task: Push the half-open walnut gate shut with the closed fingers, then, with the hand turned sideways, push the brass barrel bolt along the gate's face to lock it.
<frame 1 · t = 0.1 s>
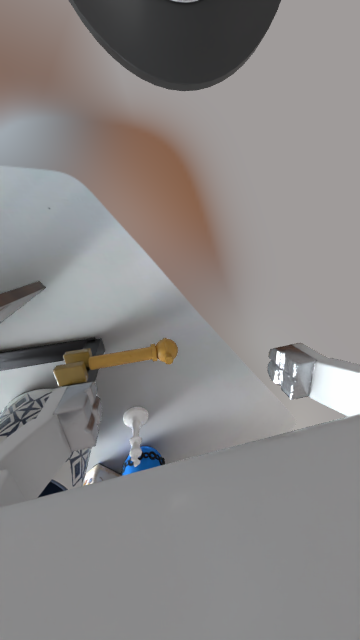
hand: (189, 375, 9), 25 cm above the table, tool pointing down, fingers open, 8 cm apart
ornament: (143, 449, 44), on the table
bolt: (135, 357, 24), point 10 cm above the table, slide at 0.0 cm
planter: (52, 421, 37), on the table
decorative jar: (100, 486, 45), on the table
chess piece: (136, 415, 41), on the table
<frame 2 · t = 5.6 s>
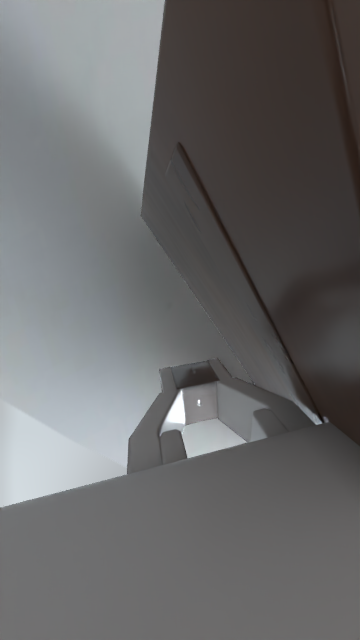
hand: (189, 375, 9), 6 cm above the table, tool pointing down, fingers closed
gate: (307, 417, 10), point 7 cm above the table, hinge at 29.8°, touching gripper
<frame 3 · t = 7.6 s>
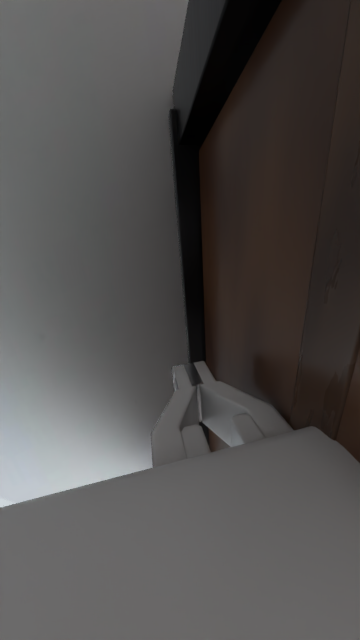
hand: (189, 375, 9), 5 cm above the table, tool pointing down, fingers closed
gate frame: (212, 455, 18), on the table
gate: (264, 433, 8), point 7 cm above the table, hinge at -0.7°, touching gripper
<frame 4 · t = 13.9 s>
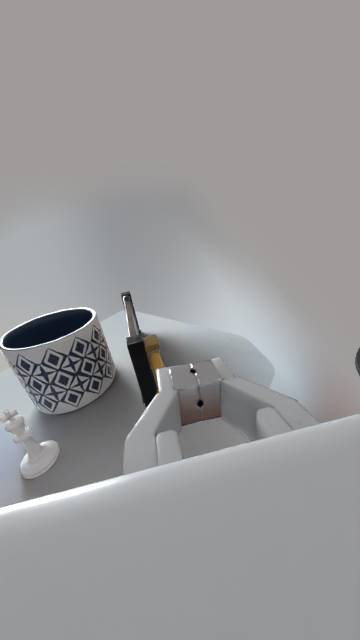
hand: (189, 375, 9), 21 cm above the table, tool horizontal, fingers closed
gate frame: (137, 338, 57), on the table
bolt: (161, 376, 26), point 11 cm above the table, slide at 0.0 cm
gate: (134, 334, 44), point 7 cm above the table, hinge at -0.4°
planter: (79, 384, 43), on the table
chess piece: (42, 460, 29), on the table
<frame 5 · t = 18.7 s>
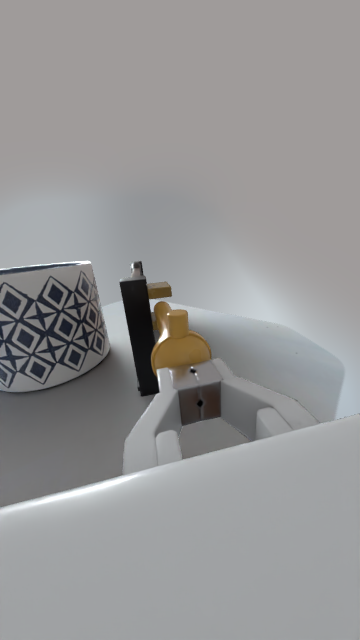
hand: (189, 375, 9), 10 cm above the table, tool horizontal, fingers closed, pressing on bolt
gate frame: (144, 320, 46), on the table
bolt: (169, 324, 14), point 10 cm above the table, slide at 0.2 cm, touching gripper
gate: (140, 303, 34), point 7 cm above the table, hinge at -0.4°
planter: (59, 361, 32), on the table
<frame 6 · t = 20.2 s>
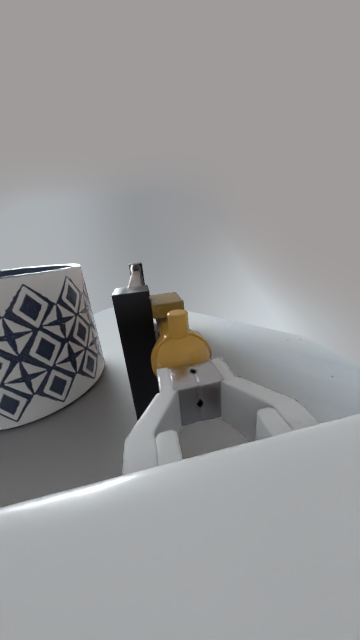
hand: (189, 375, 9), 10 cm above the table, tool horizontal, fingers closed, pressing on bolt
gate frame: (145, 329, 41), on the table
bolt: (169, 324, 14), point 10 cm above the table, slide at 5.8 cm, touching gripper
gate: (140, 313, 28), point 7 cm above the table, hinge at -0.4°
planter: (43, 383, 27), on the table
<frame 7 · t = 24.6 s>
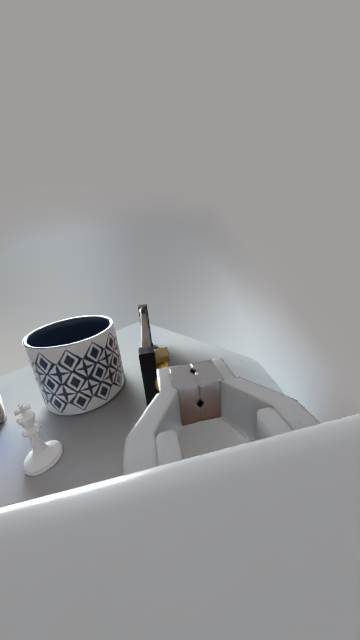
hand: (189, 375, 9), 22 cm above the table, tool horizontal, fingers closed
gate frame: (148, 350, 58), on the table
bolt: (163, 364, 32), point 11 cm above the table, slide at 5.9 cm
gate: (147, 345, 46), point 7 cm above the table, hinge at -0.4°
planter: (88, 389, 44), on the table
chess piece: (44, 458, 30), on the table
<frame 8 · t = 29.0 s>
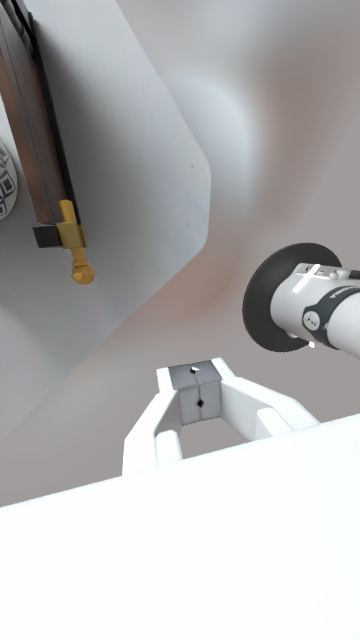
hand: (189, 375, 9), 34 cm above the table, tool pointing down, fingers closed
gate frame: (30, 54, 28), on the table
bolt: (75, 245, 27), point 11 cm above the table, slide at 5.9 cm
gate: (31, 124, 25), point 7 cm above the table, hinge at -0.4°
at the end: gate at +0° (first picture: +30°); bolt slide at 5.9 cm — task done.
